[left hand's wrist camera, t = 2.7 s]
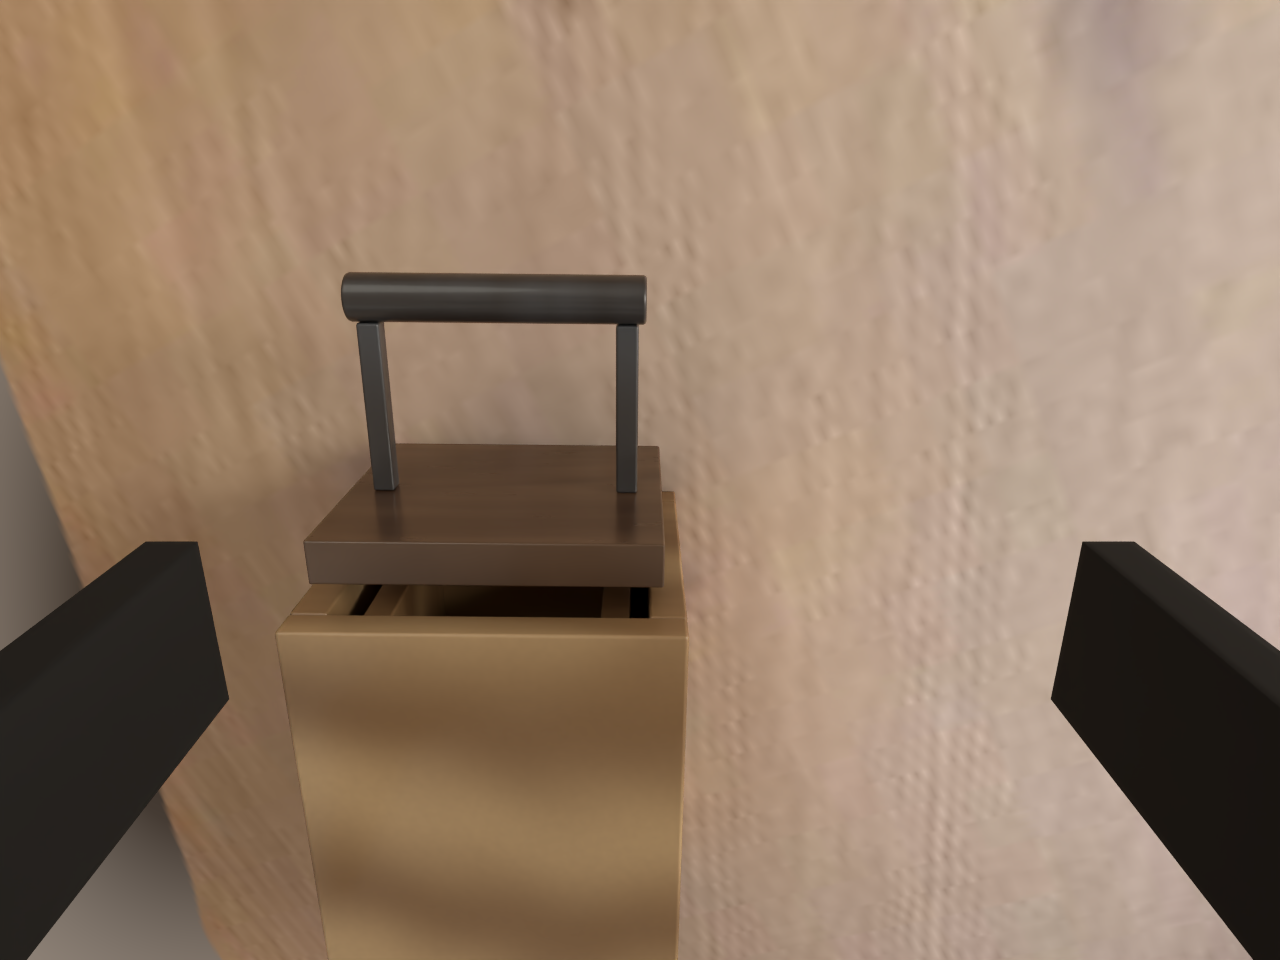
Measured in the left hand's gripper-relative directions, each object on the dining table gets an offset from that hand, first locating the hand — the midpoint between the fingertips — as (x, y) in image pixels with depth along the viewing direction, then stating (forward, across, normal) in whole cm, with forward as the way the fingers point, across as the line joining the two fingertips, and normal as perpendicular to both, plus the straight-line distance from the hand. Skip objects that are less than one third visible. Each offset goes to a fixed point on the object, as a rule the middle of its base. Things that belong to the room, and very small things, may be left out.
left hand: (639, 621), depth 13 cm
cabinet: (+16, -4, -13) cm, 21 cm away
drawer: (+16, -4, -7) cm, 17 cm away
